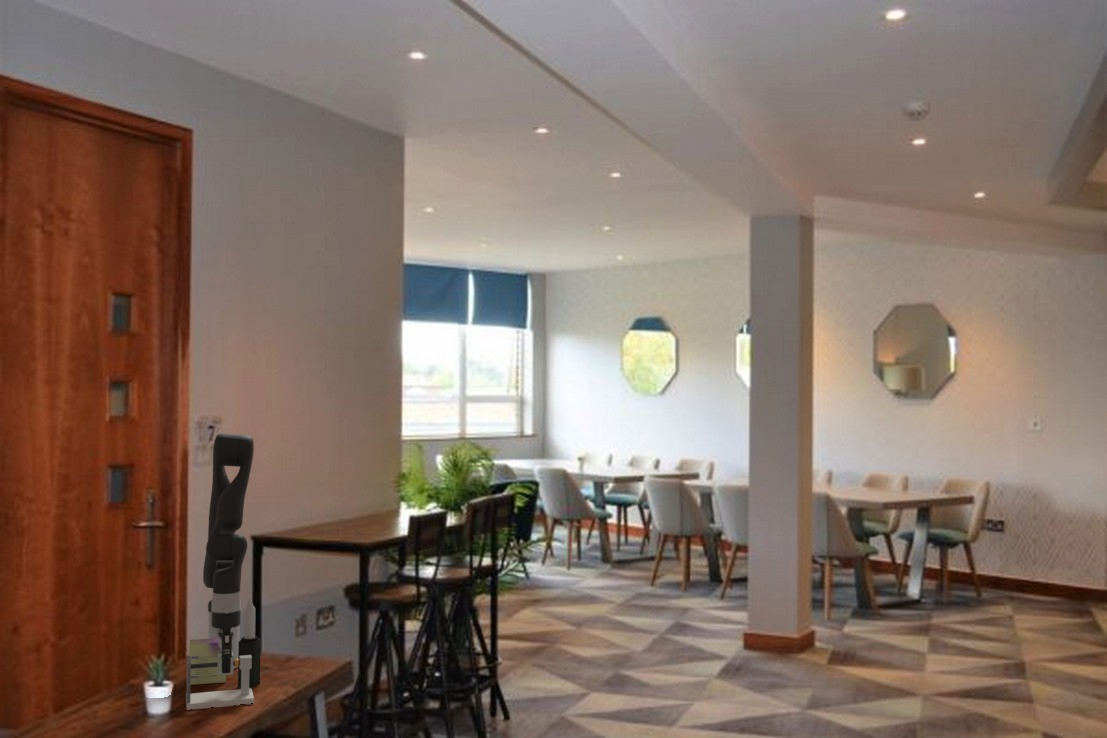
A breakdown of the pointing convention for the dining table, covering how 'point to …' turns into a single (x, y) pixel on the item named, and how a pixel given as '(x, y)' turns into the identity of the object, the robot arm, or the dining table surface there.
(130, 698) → the dining table surface
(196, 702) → the cord rack
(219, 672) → the sleeve
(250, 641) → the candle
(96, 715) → the dining table surface
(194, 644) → the box
